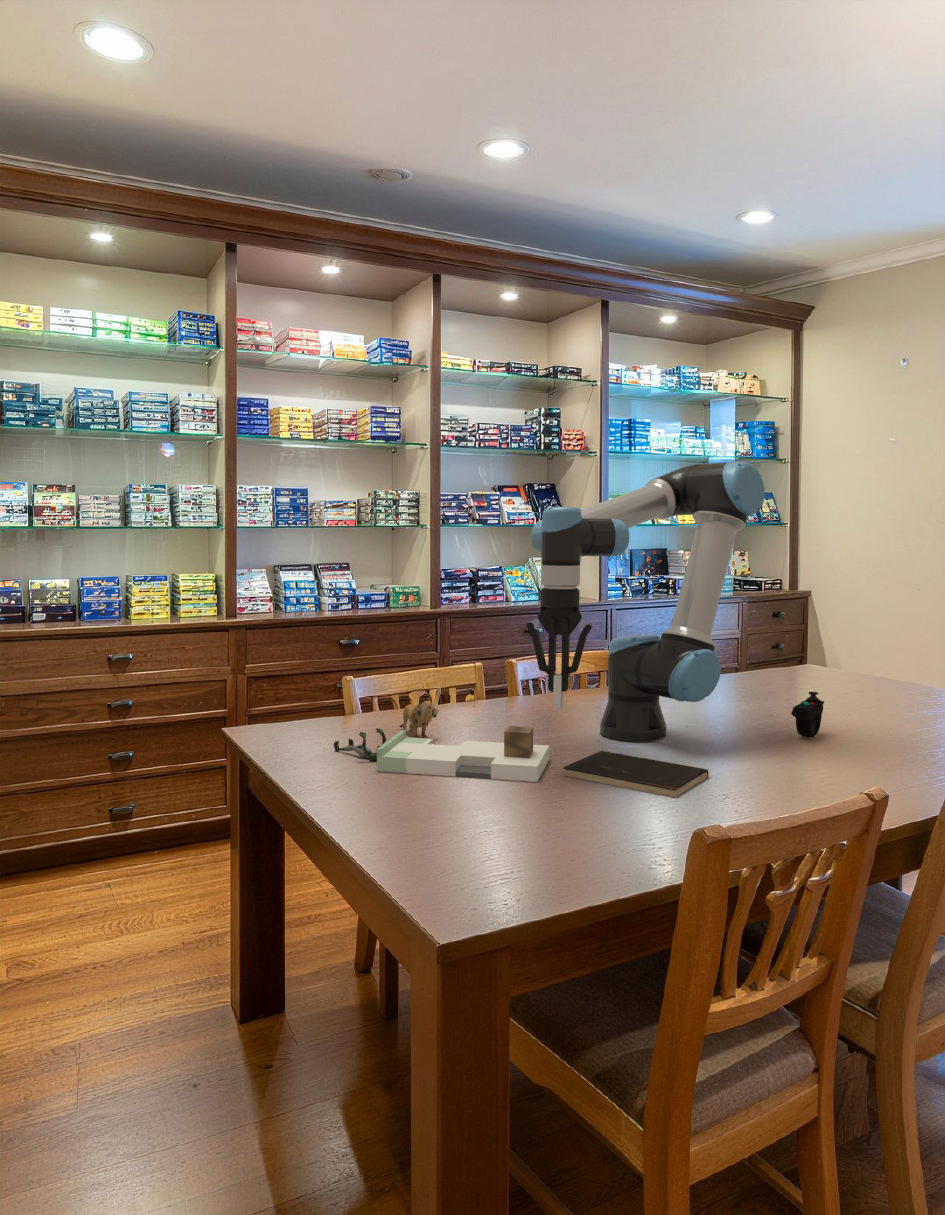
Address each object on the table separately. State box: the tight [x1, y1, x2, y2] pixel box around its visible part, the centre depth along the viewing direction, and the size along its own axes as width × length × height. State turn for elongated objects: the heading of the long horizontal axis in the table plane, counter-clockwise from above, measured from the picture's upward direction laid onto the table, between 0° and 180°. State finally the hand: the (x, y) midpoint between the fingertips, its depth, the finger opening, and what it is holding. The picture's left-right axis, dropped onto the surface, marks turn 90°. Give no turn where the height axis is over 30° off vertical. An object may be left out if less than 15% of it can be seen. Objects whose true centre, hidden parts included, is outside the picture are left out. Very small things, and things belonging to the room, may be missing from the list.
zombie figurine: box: [333, 727, 387, 761], centre depth 180 cm, size 5×7×15 cm
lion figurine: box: [398, 700, 440, 739], centre depth 198 cm, size 15×5×9 cm, turn 35°
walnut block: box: [503, 725, 534, 758], centre depth 170 cm, size 5×5×5 cm
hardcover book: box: [562, 750, 709, 798], centre depth 165 cm, size 16×23×2 cm
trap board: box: [376, 729, 550, 783], centre depth 173 cm, size 32×16×4 cm, turn 77°
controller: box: [790, 691, 825, 739], centre depth 196 cm, size 4×12×10 cm, turn 141°
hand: (557, 707), depth 168 cm, fingers closed
